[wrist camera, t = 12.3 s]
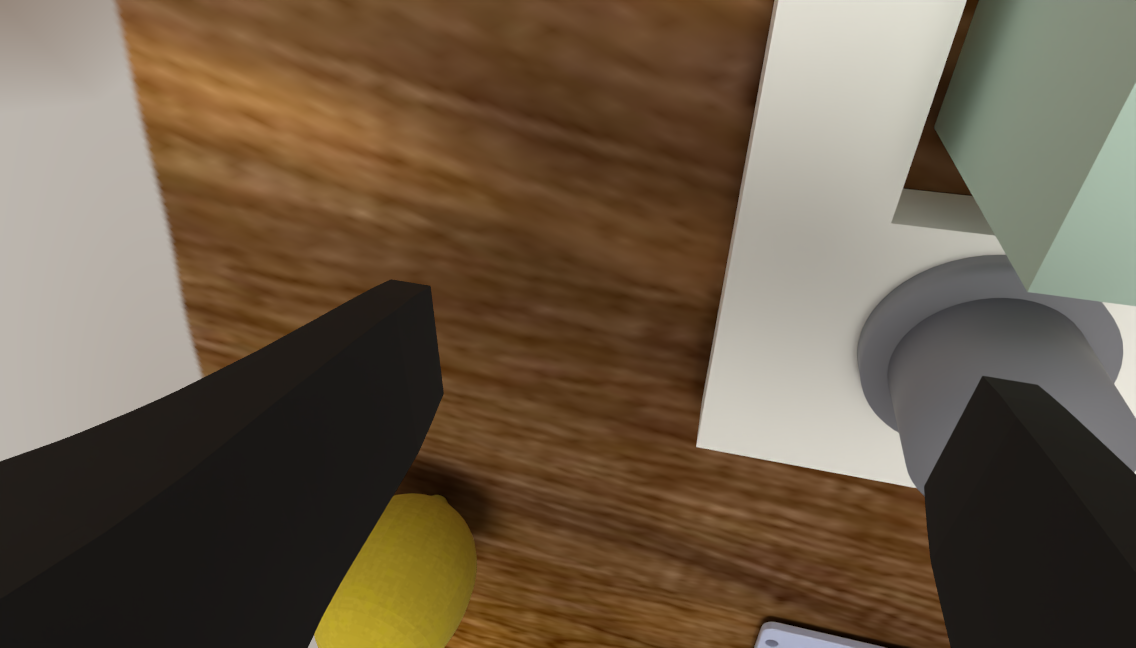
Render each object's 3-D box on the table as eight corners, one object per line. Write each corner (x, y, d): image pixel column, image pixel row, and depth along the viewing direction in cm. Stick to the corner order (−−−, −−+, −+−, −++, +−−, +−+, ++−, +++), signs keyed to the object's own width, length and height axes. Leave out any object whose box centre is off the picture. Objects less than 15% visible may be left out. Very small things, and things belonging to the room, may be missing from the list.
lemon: (374, 438, 27) (253, 620, 21) (503, 471, 26) (418, 671, 20) (386, 521, 30) (285, 699, 24) (501, 552, 29) (428, 745, 23)
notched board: (1116, 474, 19) (1216, 658, 15) (701, 402, 21) (684, 543, 17) (1607, -167, 10) (2208, -172, 6) (806, -176, 12) (823, -184, 8)
